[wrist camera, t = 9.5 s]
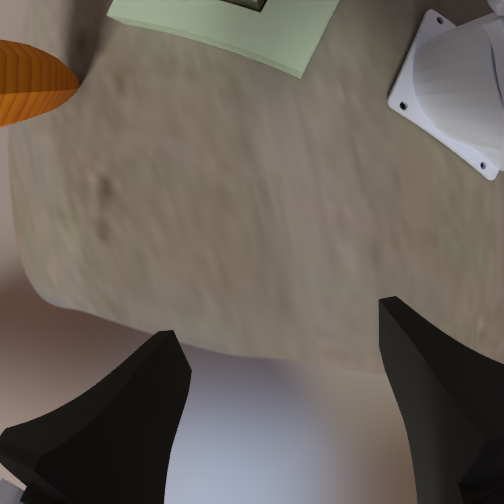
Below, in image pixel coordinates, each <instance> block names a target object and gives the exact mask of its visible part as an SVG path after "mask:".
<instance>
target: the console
mask: <svg viewBox="0 0 504 504" xmlns="http://www.w3.org/2000/svg"><path fill="white" fill-rule="evenodd" d="M339 1H340V0H267V2H266V4H265V6H264V8H263V10H262V11H261V13H260V12H257V11H254V10H251V9H248V8H244V7H241V6H238V5H234V4H231V3H227V2H224V1H220V0H113V2H112V4H111V6H110V8H109V10H108V13H107V16H109V17H111V18H113V19H115V20H117V21H120V22H122V23H124V24H127V25H133V26H138V27H143V28H148V29H152V30H157V31H161V32H165V33H169V34H173V35H177V36H181V37H185V38H189V39H192V40H196V41H199V42H203V43H206V44H209V45H212V46H216V47H219V48H222V49H225V50H228V51H231V52H234V53H237V54H239V55H242V56H245V57H248V58H250V59H253V60H256V61H258V62H261V63H264V64H266V65H269V66H271V67H274V68H276V69H279V70H281V71H283V72H286V73H288V74H290V75H293V76H295V77H297V78H299V79H301V77H302V75H303V73H304V71H305V69H306V67H307V65H308V63H309V61H310V59H311V57H312V55H313V53H314V51H315V49H316V47H317V45H318V43H319V41H320V38H321V36H322V34H323V32H324V30H325V29H326V27H327V25H328V23H329V21H330V19H331V17H332V15H333V13H334V11H335V9H336V7H337V5H338V3H339Z"/></svg>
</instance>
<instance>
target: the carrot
mask: <svg viewBox="0 0 504 504" xmlns="http://www.w3.org/2000/svg"><path fill="white" fill-rule="evenodd" d="M78 88H79V80H78V78H77V77H76V75H75V74H74V73H73V72H72V71H71V70H70V69H69V68H68V67H67V66H66V65H64V64H63V63H62V62H61V61H60V60H59V59H58V58H56V57H54V56H52V55H50V54H48V53H46V52H44V51H42V50H40V49H37V48H35V47H32V46H30V45H26V44H22V43H17V42H12V41H6V40H0V127H3V126H7V125H10V124H14V123H17V122H20V121H23V120H27V119H29V118H32V117H35V116H38V115H40V114H43V113H46V112H48V111H51V110H53V109H56V108H57V107H59V106H60V105H62V104H63V103H65V102H66V101H67V100H69V99H70V98H71V97H72V96H73V95H74V94H75V93H76V91H77V90H78Z"/></svg>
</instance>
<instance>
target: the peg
mask: <svg viewBox="0 0 504 504" xmlns="http://www.w3.org/2000/svg"><path fill="white" fill-rule="evenodd" d="M225 1H229V2H232V3H236V4H239V5H243V6H246V7H249V8H252V9H255V10H258V11H260V9H261V7H262V5H263V3H264V1H265V0H225Z"/></svg>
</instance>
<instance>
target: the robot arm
mask: <svg viewBox="0 0 504 504" xmlns="http://www.w3.org/2000/svg"><path fill="white" fill-rule="evenodd" d="M487 2H488V4H489V6H490V7H491V8H492V10H493V11H494V12H493V13H490V14H488V15H485V16H482V17H480V18H477V19H475V20H472V21H470V22H467V23H465V24H462V25H460V26H458V27H457V26H455V25H454V24H453V23H452V22H450V21H449V20H447V19H446V18H445V17H443V16H442V15H440V14H439V13H438V12H436V11H434V10H431V9H430V10H428V11H426V13H425V15H424V17H423V19H422V22H421V24H420V27H419V29H418V31H417V34H416V36H415V38H414V41H413V43H412V45H411V47H410V50H409V52H408V54H407V57H406V59H405V61H404V63H403V65H402V68H401V70H400V72H399V74H398V77H397V79H396V81H395V83H394V85H393V87H392V90H391V92H390V94H389V96H388V99H387V103H388V105H389V107H390V108H391V109H393V110H395V111H396V112H398V113H399V114H401V115H403V116H404V117H406V118H407V119H409V120H410V121H412V122H413V123H415V124H416V125H418V126H419V127H421V128H422V129H424V130H425V131H427V132H428V133H429V134H431V135H432V136H434V137H435V138H436V139H438V140H439V141H440V142H442V143H443V144H445V145H446V146H447V147H449V148H450V149H451V150H452V151H454V152H455V153H456V154H458V155H459V156H460V157H461V158H463V159H464V160H465V161H466V162H468V163H469V164H470V165H471V166H473V167H474V168H475V169H476V170H477V171H478V172H480V173H481V174H482V175H483V176H484V177H485V178H487V179H489V180H494V179H495V178H496V176H497V173H498V171H499V170H501V171H503V172H504V0H487ZM437 19H439V20H440V21H441V24H440V23H438V21H437ZM401 102H403V103H404V104H405V109H404V110H402V109H401V108H400V103H401ZM482 162H483V167H482V168H481V166H480V165H481V163H482ZM379 348H380V352H381V356H382V360H383V364H384V368H385V371H386V374H387V377H388V379H389V382H390V385H391V387H392V390H393V392H394V395H395V398H396V401H397V403H398V406H399V409H400V411H401V415H402V417H403V420H404V423H405V427H406V431H407V435H408V440H409V445H410V450H411V456H412V461H413V468H414V475H415V482H416V491H417V502H418V504H504V364H502V363H499V362H497V361H495V360H492V359H490V358H488V357H486V356H483V355H481V354H479V353H478V352H476V351H474V350H472V349H470V348H468V347H466V346H465V345H463V344H461V343H459V342H458V341H456V340H455V339H453V338H452V337H450V336H448V335H447V334H445V333H444V332H442V331H441V330H440V329H438V328H437V327H435V326H434V325H432V324H431V323H430V322H428V321H427V320H426V319H424V318H423V317H422V316H421V315H419V314H418V313H417V312H415V311H414V310H413V309H412V308H410V307H409V306H408V305H407V304H405V303H404V302H403V301H402V300H400V299H399V298H398V297H396V296H393V297H388V298H383V299H379ZM191 372H192V370H191V368H190V366H189V364H188V361H187V360H186V357H185V355H184V353H183V351H182V349H181V346H180V344H179V342H178V340H177V337H176V335H175V333H174V331H173V330H168V331H159V332H157V333H156V334H155V335H153V336H152V337H151V338H150V339H148V341H146V342H145V343H144V344H143V345H142V346H140V347H139V349H137V350H136V351H135V352H134V353H133V354H132V355H130V356H129V357H128V358H127V359H126V360H125V361H124V362H123V363H121V364H120V365H119V366H118V367H117V368H116V369H114V370H113V371H112V372H111V373H110V374H108V375H107V376H106V377H105V378H104V379H102V380H101V381H100V382H98V383H97V384H96V385H94V386H93V387H92V388H90V389H89V390H87V391H86V392H84V393H83V394H81V395H80V396H78V397H77V398H75V399H74V400H72V401H70V402H69V403H66V404H65V405H63V406H61V407H60V408H58V409H56V410H54V411H52V412H50V413H48V414H45V415H43V416H41V417H38V418H36V419H33V420H31V421H28V422H25V423H22V424H19V425H16V426H12V427H9V428H6V429H5V430H4V431H3V433H2V434H1V436H0V463H1V464H2V465H3V466H4V467H5V468H6V469H7V470H9V471H10V472H11V473H12V474H13V475H14V476H15V477H16V478H18V479H19V480H20V481H21V482H22V483H24V484H25V485H26V486H27V487H26V489H25V491H23V490H22V489H20V488H19V487H17V486H16V485H14V484H12V483H10V482H8V481H7V480H5V479H1V480H0V504H164V495H165V486H166V478H167V470H168V464H169V459H170V452H171V448H172V445H173V441H174V438H175V435H176V431H177V428H178V425H179V422H180V418H181V415H182V413H183V409H184V406H185V403H186V400H187V396H188V392H189V386H190V379H191Z"/></svg>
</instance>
